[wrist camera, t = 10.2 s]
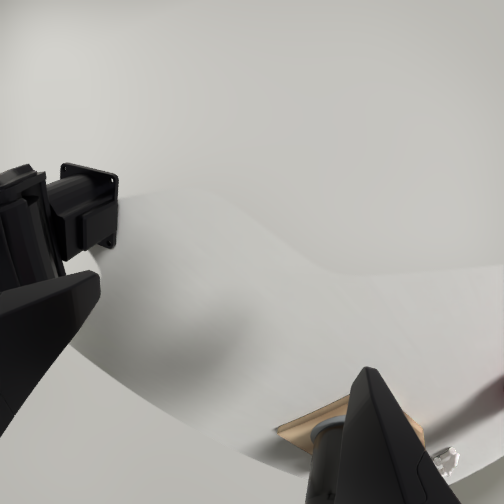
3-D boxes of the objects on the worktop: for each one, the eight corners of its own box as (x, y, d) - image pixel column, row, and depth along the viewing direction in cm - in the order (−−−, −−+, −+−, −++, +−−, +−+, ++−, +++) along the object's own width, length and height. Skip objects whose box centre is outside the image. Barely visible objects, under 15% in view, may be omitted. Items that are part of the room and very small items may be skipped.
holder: (278, 426, 31) (265, 479, 25) (371, 383, 25) (373, 446, 19) (338, 463, 32) (332, 509, 26) (422, 428, 27) (428, 480, 20)
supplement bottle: (353, 456, 29) (344, 547, 19) (303, 441, 29) (283, 538, 19) (392, 428, 26) (393, 532, 15) (338, 411, 26) (325, 526, 16)
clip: (454, 441, 27) (458, 466, 24) (463, 443, 27) (467, 467, 23) (427, 460, 29) (429, 483, 26) (435, 462, 29) (438, 484, 26)
